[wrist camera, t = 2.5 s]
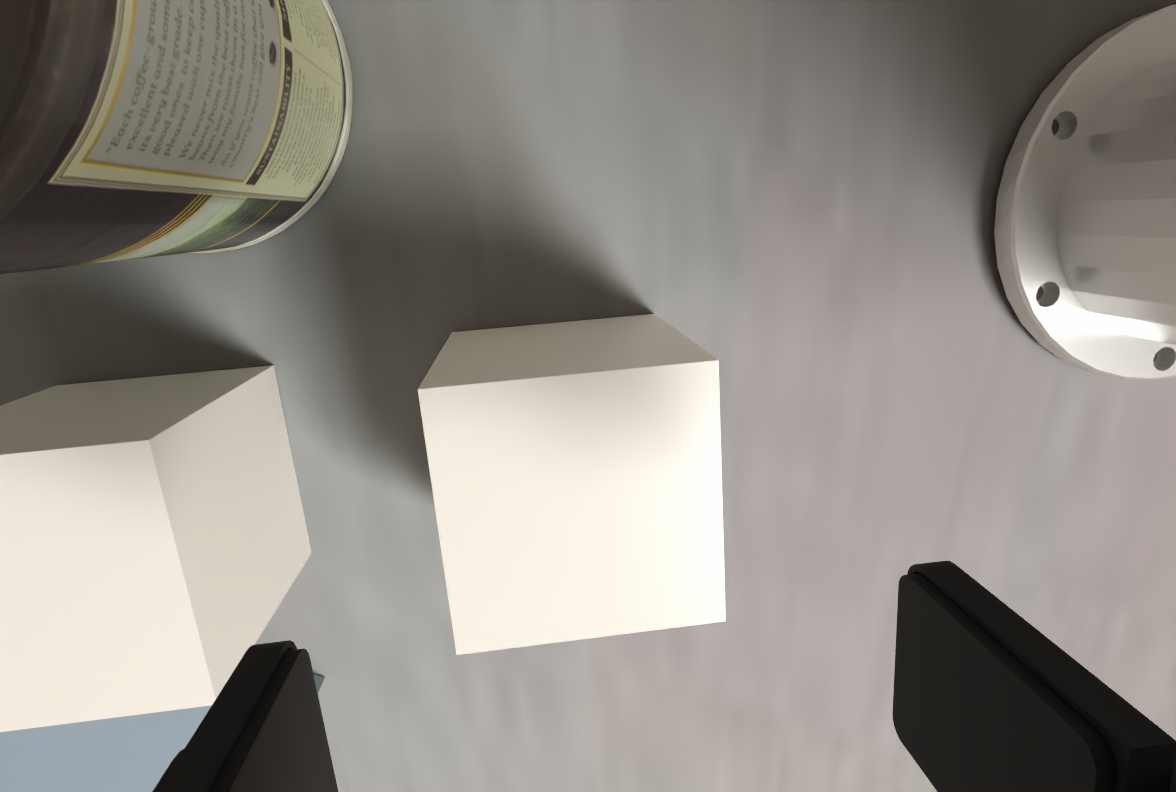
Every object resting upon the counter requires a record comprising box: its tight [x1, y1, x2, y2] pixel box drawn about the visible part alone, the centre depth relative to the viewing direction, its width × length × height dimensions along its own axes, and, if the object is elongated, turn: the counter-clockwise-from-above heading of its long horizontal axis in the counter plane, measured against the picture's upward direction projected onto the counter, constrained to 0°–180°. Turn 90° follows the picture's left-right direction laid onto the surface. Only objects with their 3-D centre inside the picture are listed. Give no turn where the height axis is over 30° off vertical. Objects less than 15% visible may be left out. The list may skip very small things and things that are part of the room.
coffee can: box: [0, 0, 353, 274], centre depth 14 cm, size 10×10×14 cm
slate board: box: [0, 674, 324, 792], centre depth 26 cm, size 14×14×1 cm
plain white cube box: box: [418, 314, 726, 655], centre depth 21 cm, size 7×7×8 cm
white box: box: [0, 365, 311, 732], centre depth 20 cm, size 7×7×8 cm
